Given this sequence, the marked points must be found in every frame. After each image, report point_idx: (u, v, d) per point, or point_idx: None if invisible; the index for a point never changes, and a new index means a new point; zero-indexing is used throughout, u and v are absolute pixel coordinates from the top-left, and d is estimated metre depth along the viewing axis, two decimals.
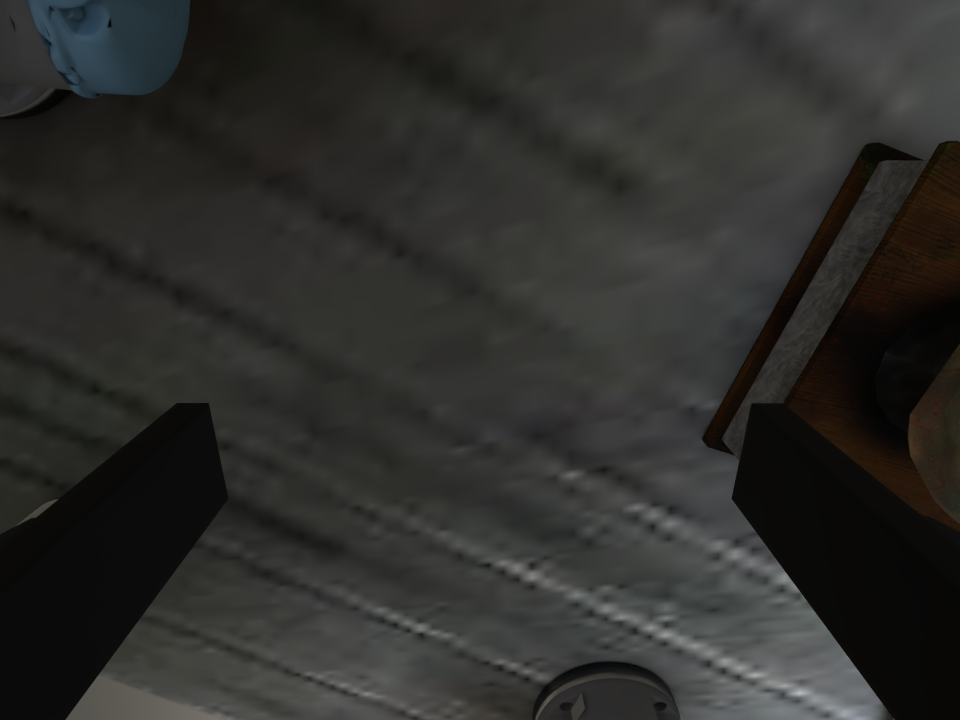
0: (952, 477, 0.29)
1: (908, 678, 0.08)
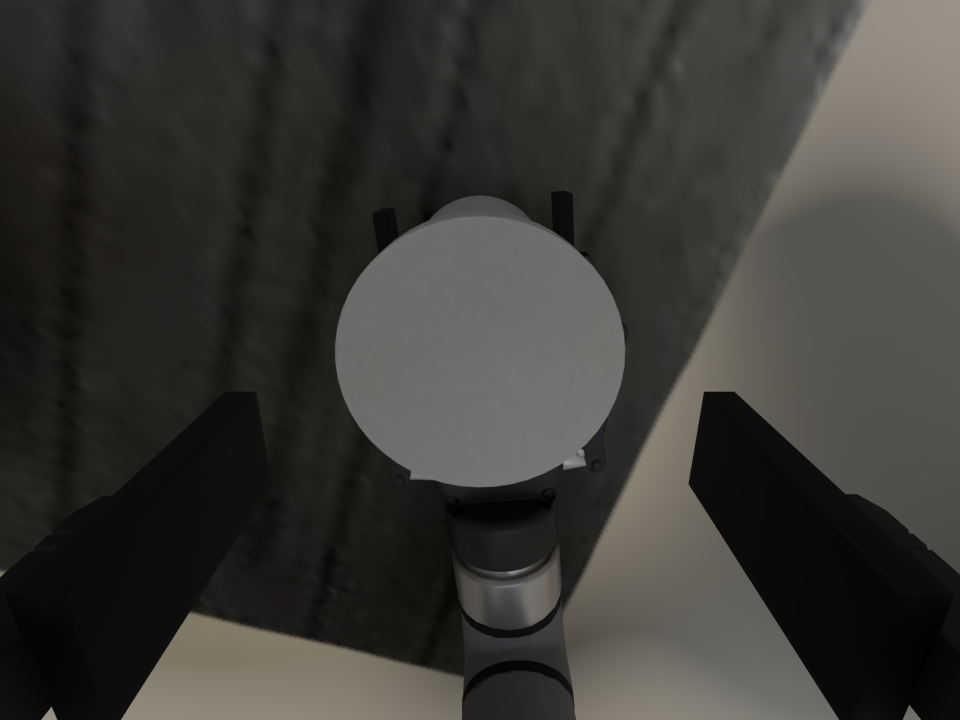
0: None
1: (823, 640, 0.08)
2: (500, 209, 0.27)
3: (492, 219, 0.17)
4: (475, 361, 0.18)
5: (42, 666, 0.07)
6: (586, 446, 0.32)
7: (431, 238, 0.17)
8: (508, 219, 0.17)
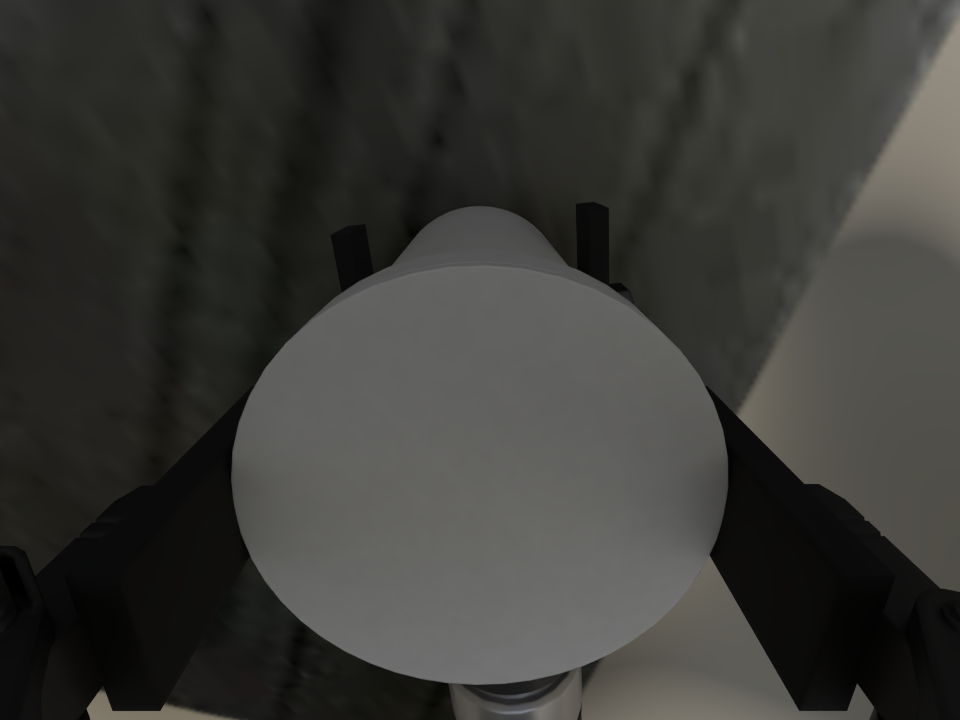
0: None
1: (780, 623, 0.09)
2: (508, 230, 0.19)
3: (502, 271, 0.09)
4: (472, 505, 0.11)
5: (96, 645, 0.08)
6: None
7: (391, 305, 0.09)
8: (532, 271, 0.09)
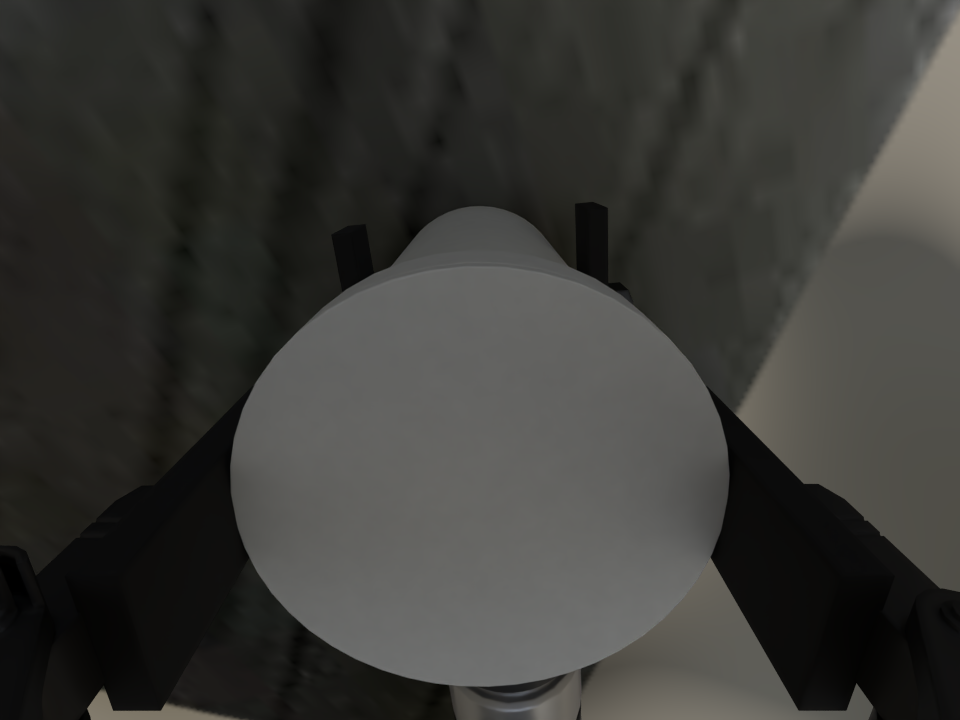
0: None
1: (779, 622, 0.09)
2: (508, 229, 0.19)
3: (253, 558, 0.11)
4: (476, 519, 0.11)
5: (96, 645, 0.08)
6: None
7: (317, 618, 0.12)
8: (243, 539, 0.11)
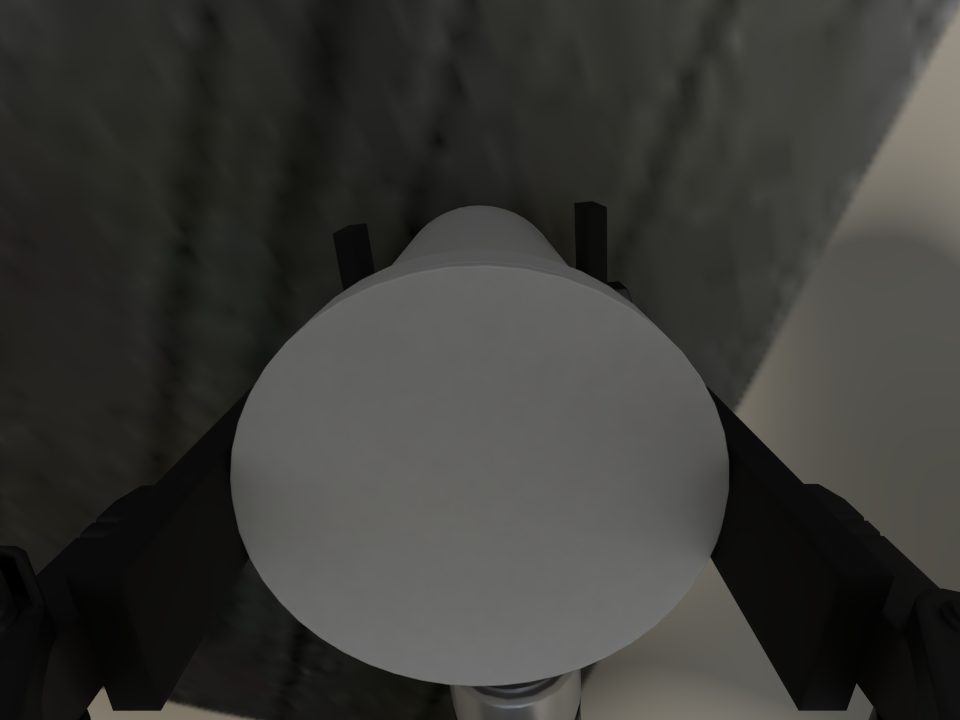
0: None
1: (779, 623, 0.09)
2: (508, 228, 0.19)
3: (593, 660, 0.12)
4: (489, 512, 0.11)
5: (96, 645, 0.08)
6: None
7: (653, 607, 0.12)
8: (575, 668, 0.12)
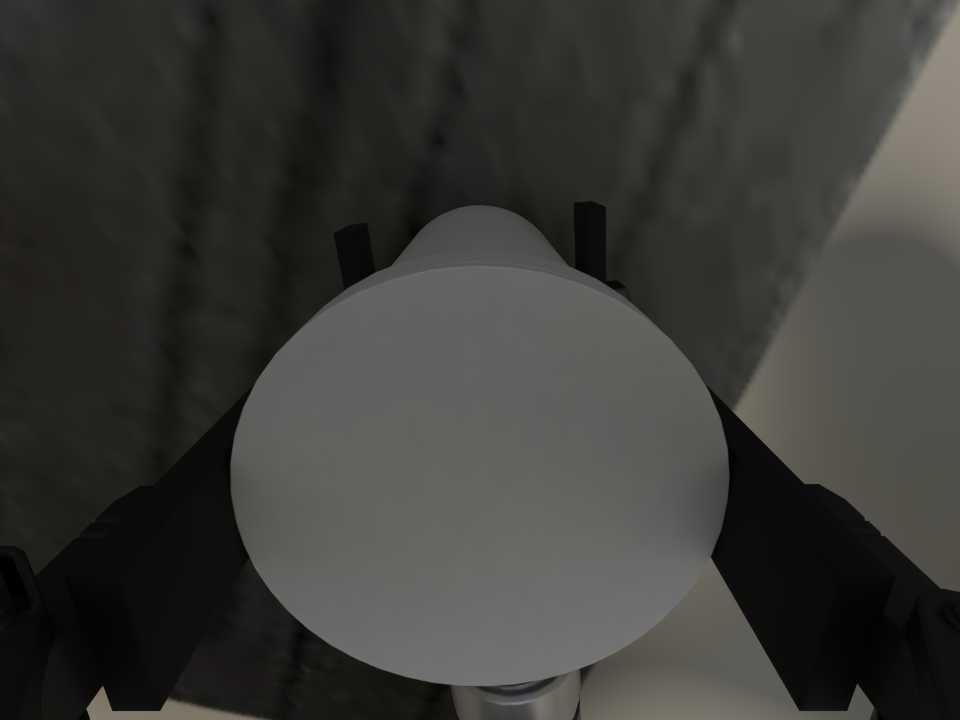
0: None
1: (780, 623, 0.09)
2: (507, 228, 0.19)
3: (654, 332, 0.09)
4: (477, 503, 0.11)
5: (95, 645, 0.08)
6: None
7: (547, 299, 0.09)
8: (675, 347, 0.10)
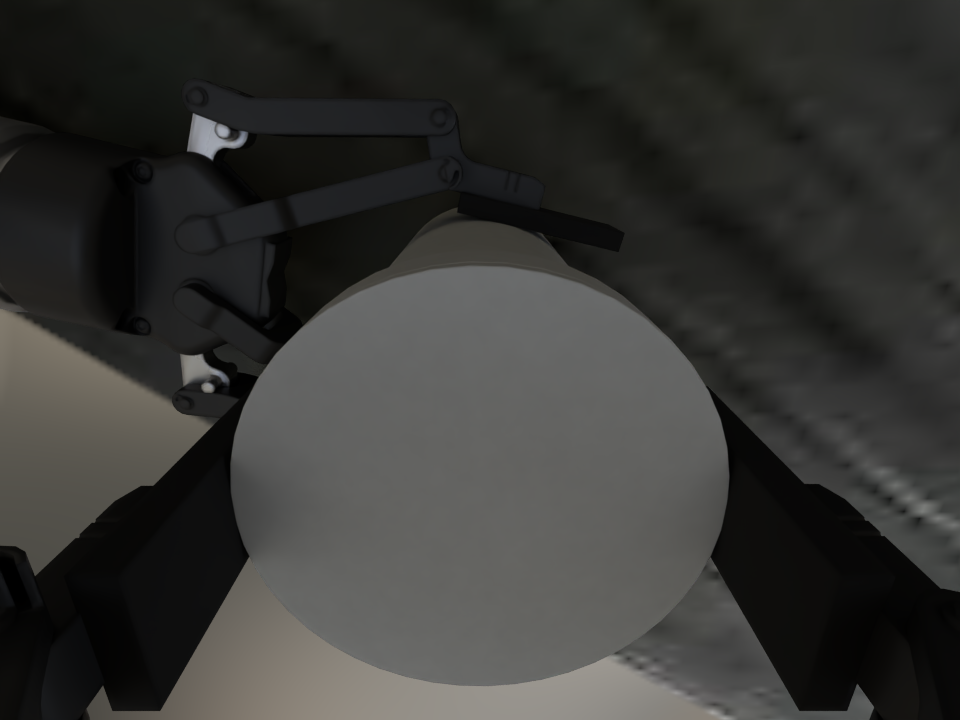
0: None
1: (780, 623, 0.09)
2: None
3: (654, 332, 0.09)
4: (477, 503, 0.11)
5: (96, 645, 0.08)
6: (217, 397, 0.23)
7: (547, 299, 0.09)
8: (675, 347, 0.10)
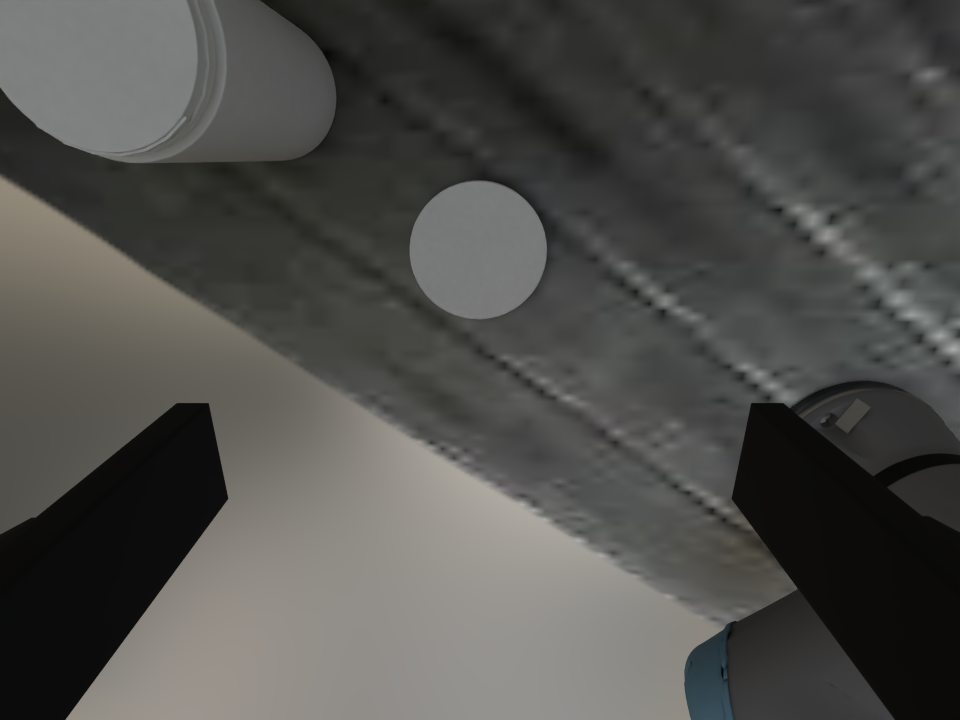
0: None
1: (908, 677, 0.08)
2: (289, 121, 0.29)
3: (522, 198, 0.37)
4: (477, 250, 0.39)
5: None
6: None
7: (494, 189, 0.37)
8: (527, 202, 0.37)
